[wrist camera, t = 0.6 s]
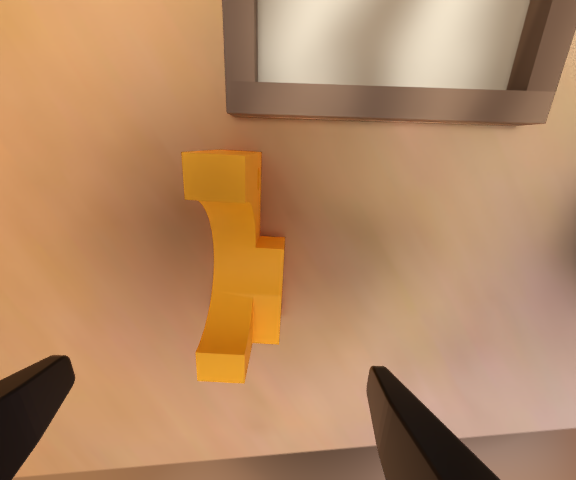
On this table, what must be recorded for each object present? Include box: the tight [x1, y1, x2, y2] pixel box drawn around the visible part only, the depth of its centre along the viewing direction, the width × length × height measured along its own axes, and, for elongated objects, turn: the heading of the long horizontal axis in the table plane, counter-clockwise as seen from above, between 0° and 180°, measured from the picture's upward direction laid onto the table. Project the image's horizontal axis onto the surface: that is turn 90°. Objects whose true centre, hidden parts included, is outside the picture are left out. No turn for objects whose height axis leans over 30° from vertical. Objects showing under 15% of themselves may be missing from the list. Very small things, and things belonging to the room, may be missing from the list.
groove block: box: [222, 0, 576, 126], centre depth 14 cm, size 17×10×2 cm, turn 88°
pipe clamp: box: [181, 150, 285, 383], centre depth 16 cm, size 12×4×6 cm, turn 177°
